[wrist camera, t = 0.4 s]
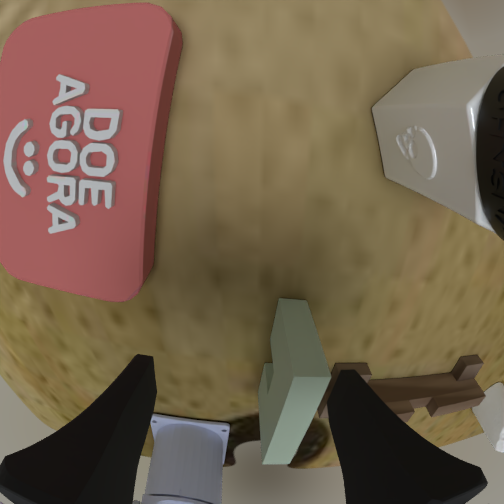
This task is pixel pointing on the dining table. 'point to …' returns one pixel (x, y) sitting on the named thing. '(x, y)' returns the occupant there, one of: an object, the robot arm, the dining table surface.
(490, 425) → the bottle
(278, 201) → the dining table surface
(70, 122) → the plaque
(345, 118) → the dining table surface
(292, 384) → the slotted plate
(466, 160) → the jar
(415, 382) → the walnut stand
